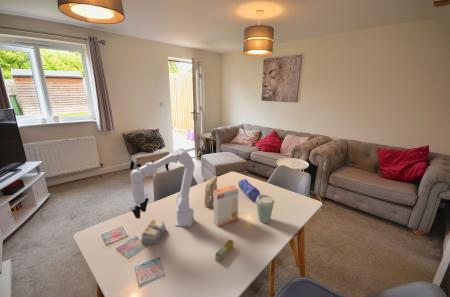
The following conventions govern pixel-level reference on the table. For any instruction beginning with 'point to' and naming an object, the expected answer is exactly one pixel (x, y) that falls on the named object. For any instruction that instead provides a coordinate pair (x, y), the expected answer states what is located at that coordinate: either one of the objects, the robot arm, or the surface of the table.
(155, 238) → the breaker panel
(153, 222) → the breaker
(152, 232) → the breaker
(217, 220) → the cracker box
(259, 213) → the disposable coffee cup
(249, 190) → the pencil case
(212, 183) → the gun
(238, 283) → the table surface
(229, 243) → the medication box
